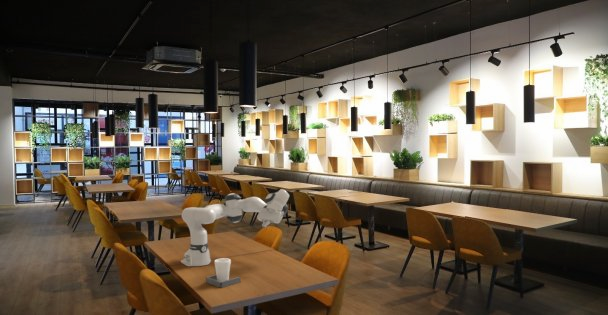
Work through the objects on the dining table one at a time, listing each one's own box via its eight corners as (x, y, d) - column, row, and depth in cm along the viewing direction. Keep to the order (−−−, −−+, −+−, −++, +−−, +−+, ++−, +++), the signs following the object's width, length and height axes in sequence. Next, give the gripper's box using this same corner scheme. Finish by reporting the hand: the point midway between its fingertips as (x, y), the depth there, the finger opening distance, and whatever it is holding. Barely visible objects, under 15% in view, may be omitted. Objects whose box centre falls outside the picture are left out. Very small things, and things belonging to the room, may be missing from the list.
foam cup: (218, 285, 241) (218, 263, 241) (212, 281, 249) (212, 259, 249) (233, 282, 247) (233, 260, 246) (227, 278, 254) (226, 257, 254)
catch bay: (206, 282, 247) (206, 277, 247) (225, 276, 257) (225, 272, 257) (220, 287, 237) (220, 282, 237) (240, 282, 247) (240, 277, 247)
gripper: (287, 214, 274) (277, 231, 268) (266, 211, 288) (256, 227, 282) (282, 208, 271) (271, 225, 264) (261, 206, 285) (251, 222, 278)
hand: (263, 226), depth 273 cm, fingers closed
